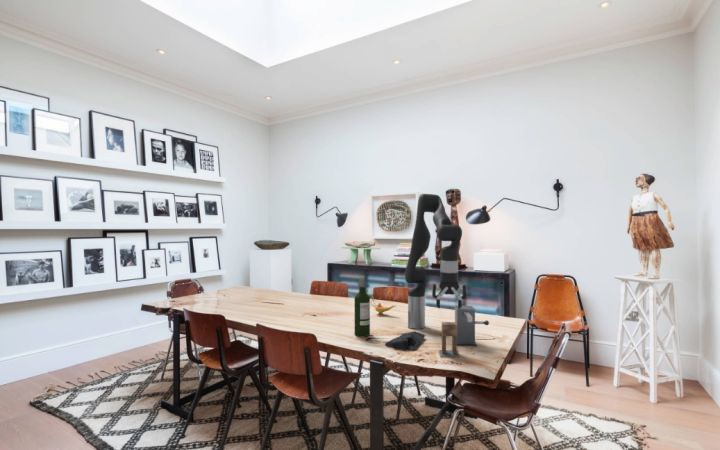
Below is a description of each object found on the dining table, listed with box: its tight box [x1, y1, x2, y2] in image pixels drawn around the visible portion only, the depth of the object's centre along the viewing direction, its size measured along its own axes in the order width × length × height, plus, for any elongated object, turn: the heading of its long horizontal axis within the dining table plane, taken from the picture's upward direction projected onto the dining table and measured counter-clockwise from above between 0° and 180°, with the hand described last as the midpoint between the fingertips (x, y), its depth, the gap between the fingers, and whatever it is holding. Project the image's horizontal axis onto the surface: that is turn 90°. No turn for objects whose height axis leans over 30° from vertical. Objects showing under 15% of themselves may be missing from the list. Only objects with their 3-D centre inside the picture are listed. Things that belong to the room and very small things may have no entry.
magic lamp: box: [370, 295, 396, 317], centre depth 229 cm, size 7×18×11 cm, turn 57°
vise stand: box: [454, 304, 490, 347], centre depth 169 cm, size 16×19×17 cm
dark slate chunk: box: [384, 331, 426, 352], centre depth 176 cm, size 15×22×5 cm
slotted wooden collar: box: [441, 321, 458, 355], centre depth 160 cm, size 6×4×13 cm, turn 83°
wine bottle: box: [354, 275, 371, 338], centre depth 189 cm, size 8×8×30 cm
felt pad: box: [438, 349, 461, 359], centre depth 160 cm, size 8×8×1 cm
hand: (448, 308), depth 160 cm, fingers open, 8 cm apart
